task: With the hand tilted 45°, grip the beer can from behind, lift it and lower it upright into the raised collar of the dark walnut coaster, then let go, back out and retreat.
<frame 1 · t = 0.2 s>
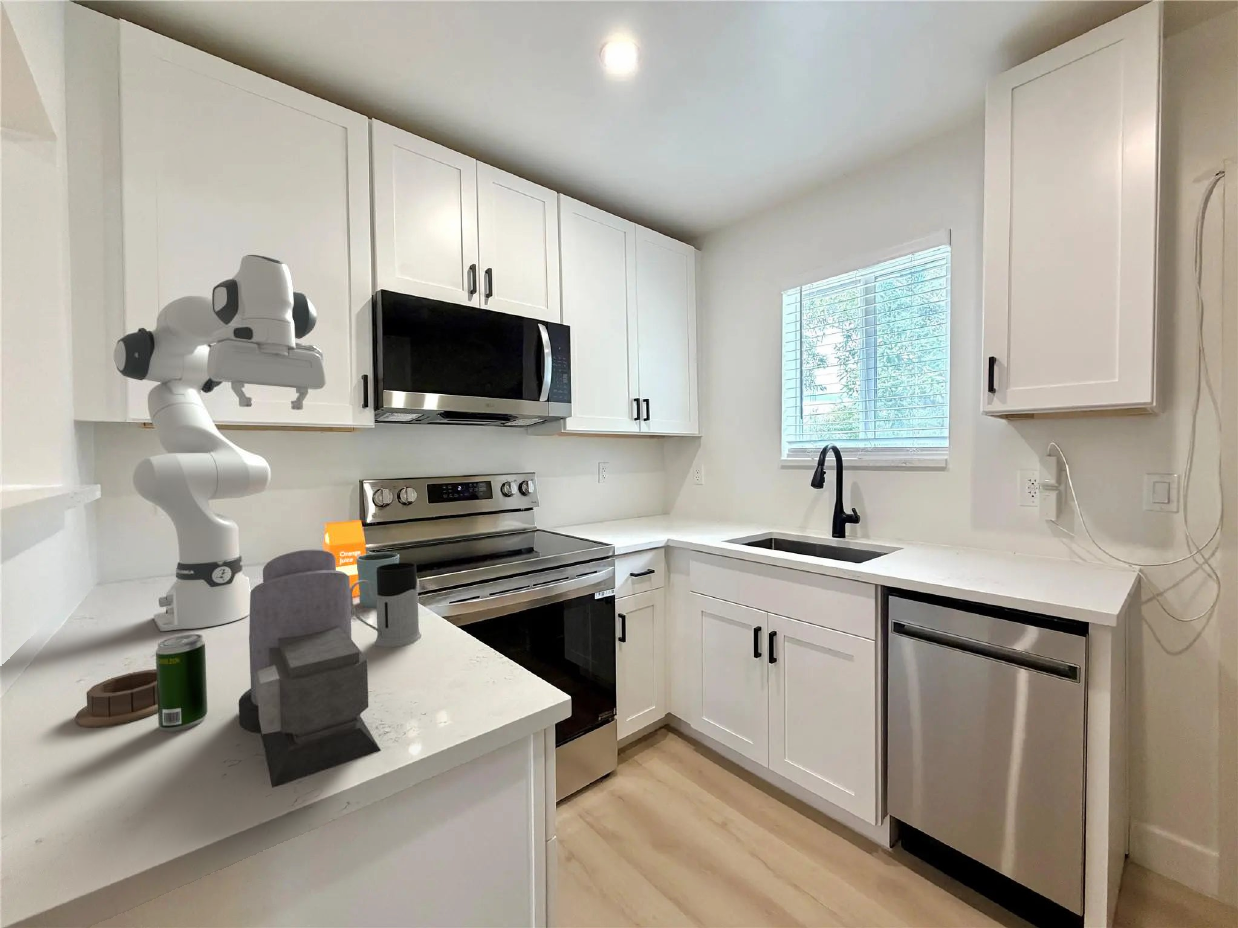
hand: (272, 408, 104), 48 cm above the countertop, tool pointing down, fingers open, 8 cm apart
collar coaster: (132, 706, 80), on the countertop
juicer: (310, 721, 75), on the countertop
orange juice: (345, 595, 142), on the countertop
beer can: (183, 724, 75), on the countertop
teal cup: (379, 602, 134), on the countertop
glass holder: (386, 643, 105), on the countertop
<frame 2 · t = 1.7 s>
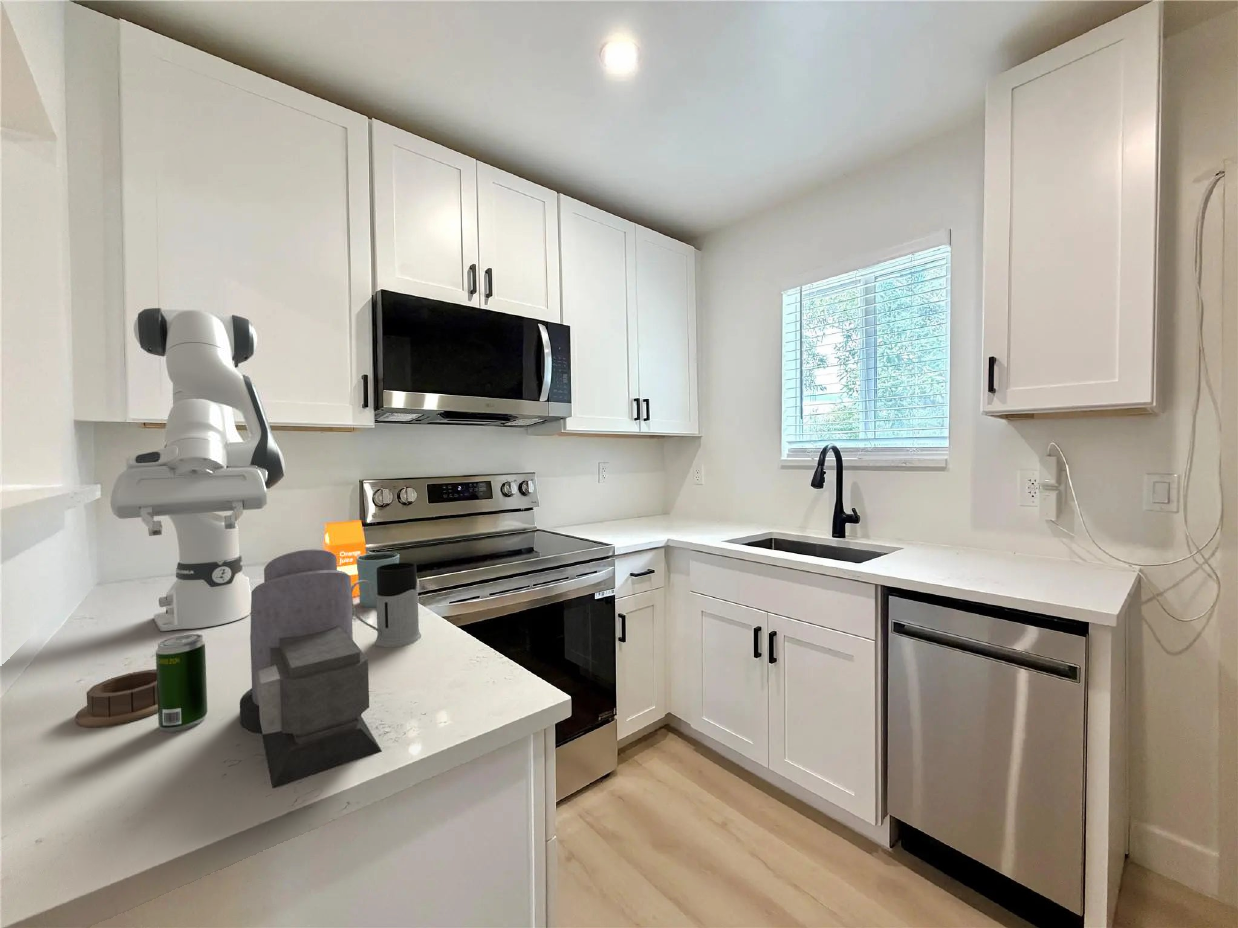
hand: (193, 530, 84), 26 cm above the countertop, tool tilted 45°, fingers open, 8 cm apart
nothing on the countertop moved.
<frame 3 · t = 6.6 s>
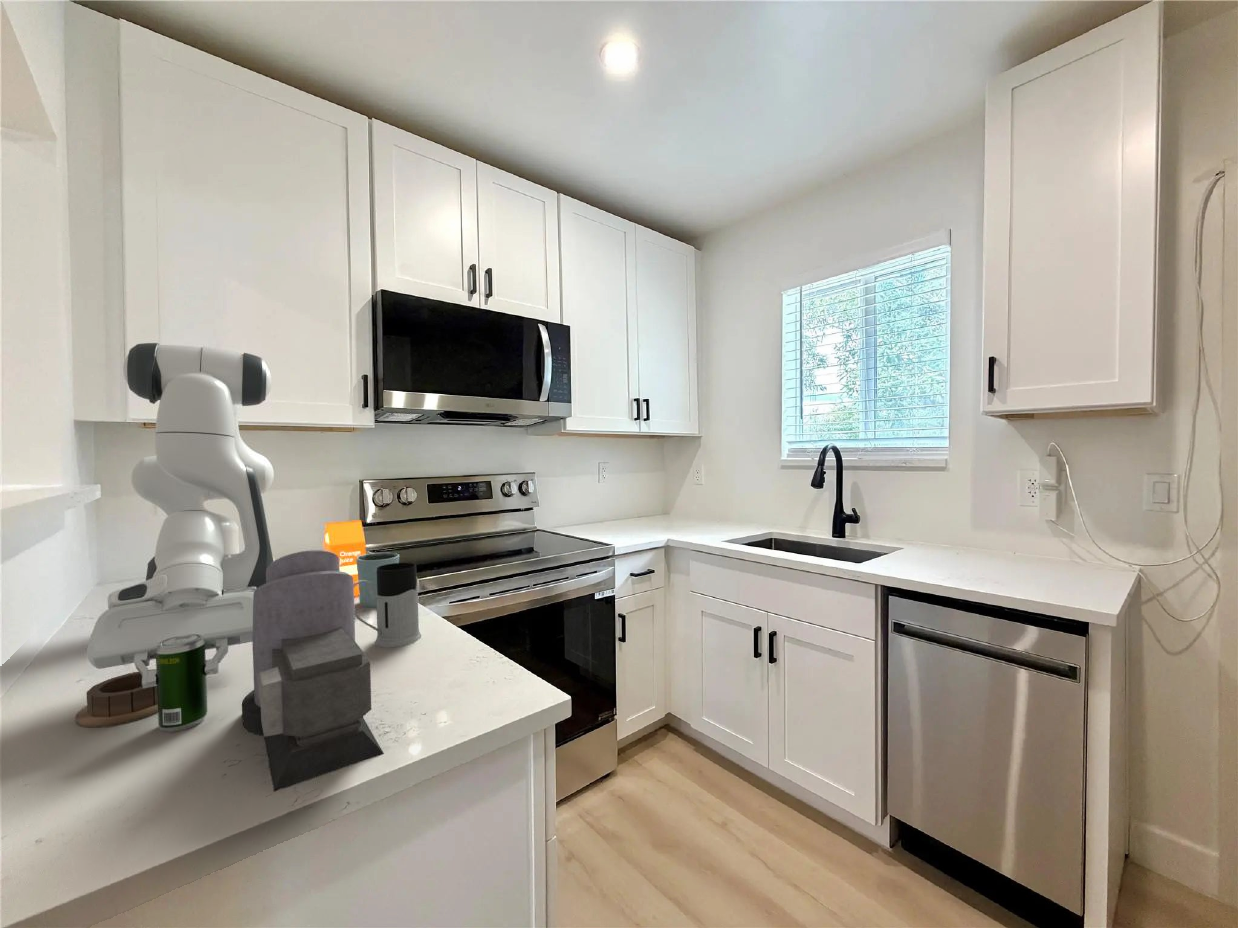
hand: (181, 679, 74), 7 cm above the countertop, tool tilted 45°, fingers closed on beer can, 5 cm apart
beer can: (183, 724, 75), on the countertop, touching gripper
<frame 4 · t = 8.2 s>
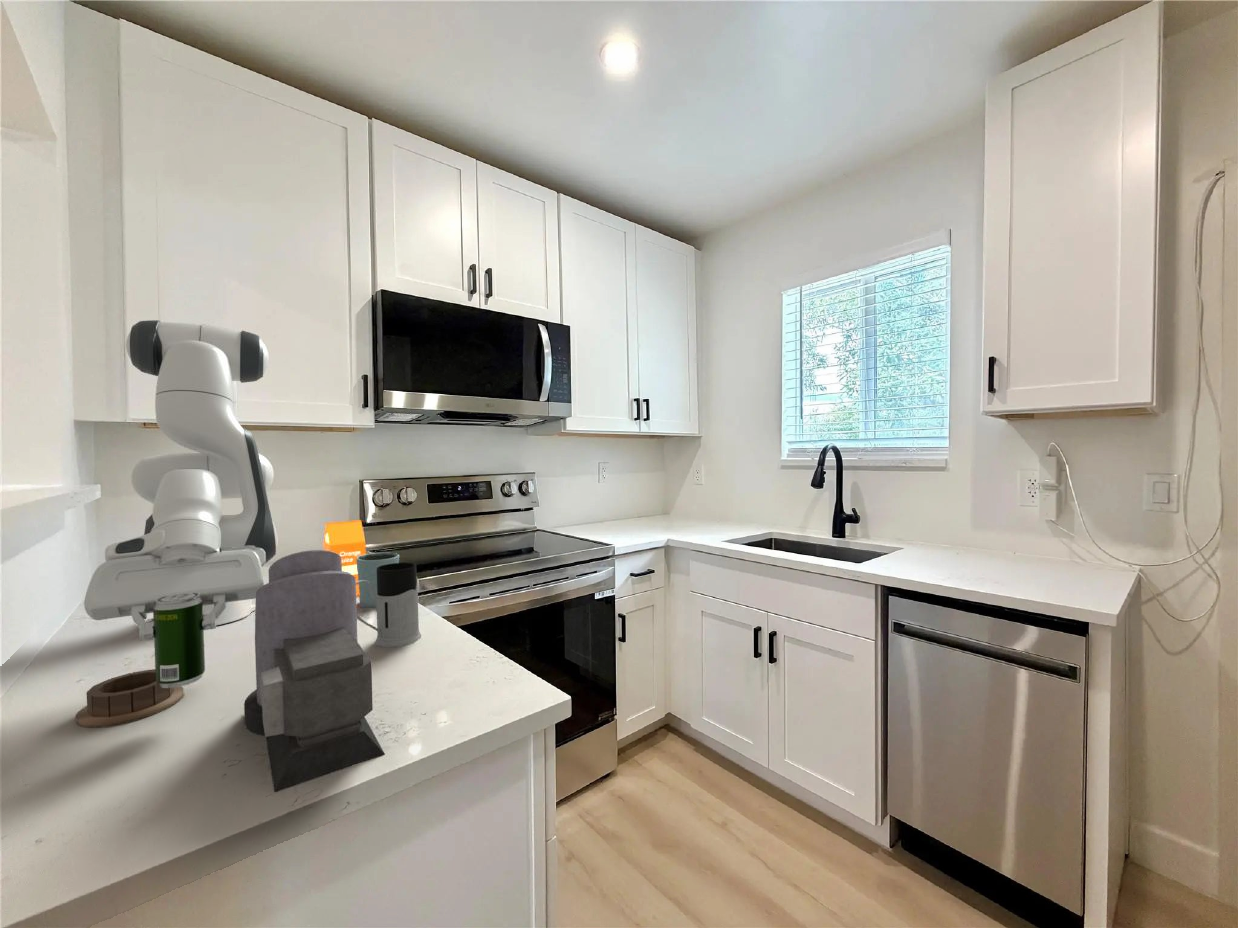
hand: (178, 632, 74), 13 cm above the countertop, tool tilted 45°, fingers closed on beer can, 5 cm apart
beer can: (181, 681, 74), point 6 cm above the countertop, touching gripper
when the fingers open (17 cm above the countertop, at t = 9.7 s): beer can drops 4 cm, resting on collar coaster.
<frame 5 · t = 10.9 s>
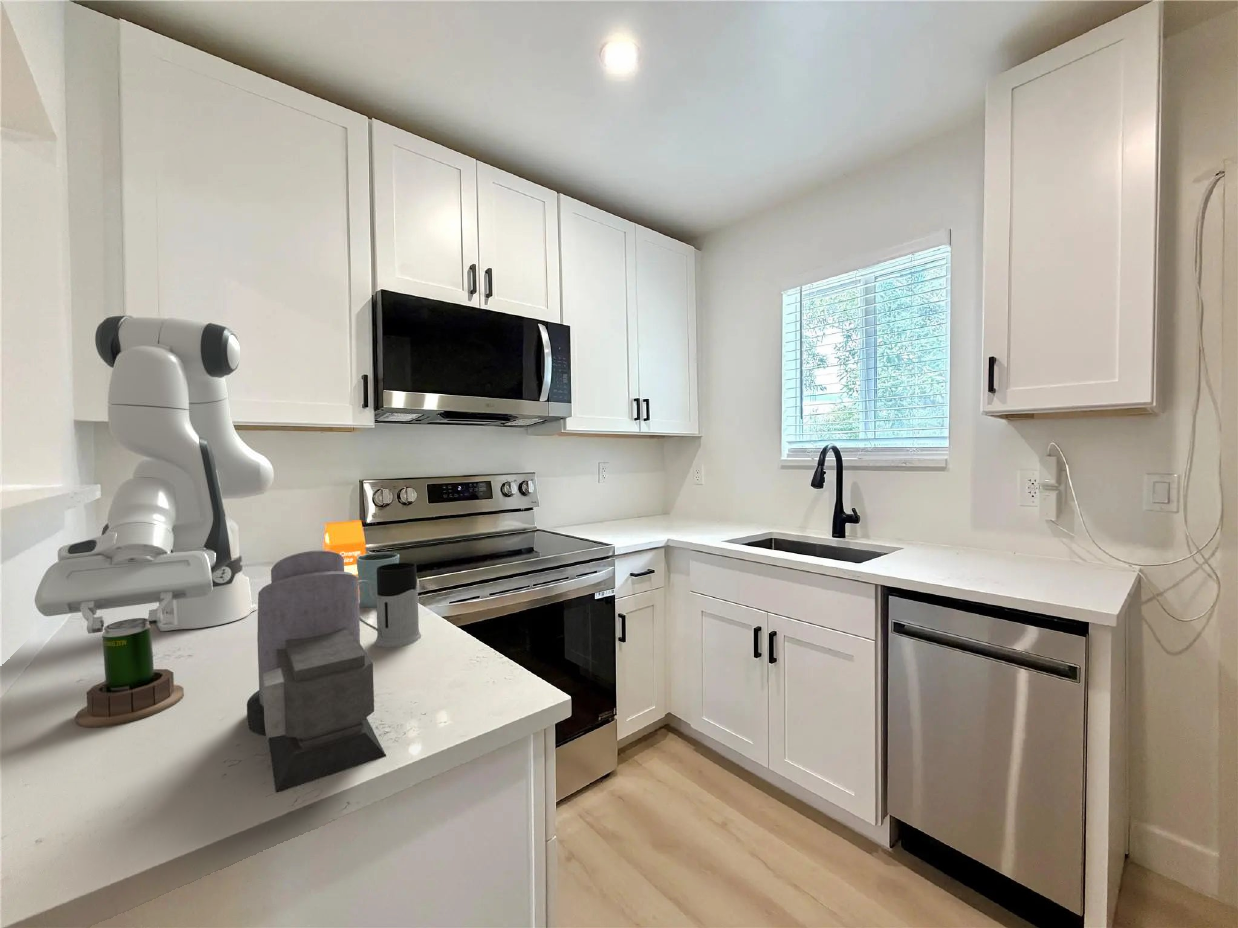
hand: (125, 626, 78), 13 cm above the countertop, tool tilted 45°, fingers open, 5 cm apart
beer can: (131, 701, 80), point 1 cm above the countertop, touching collar coaster, gripper
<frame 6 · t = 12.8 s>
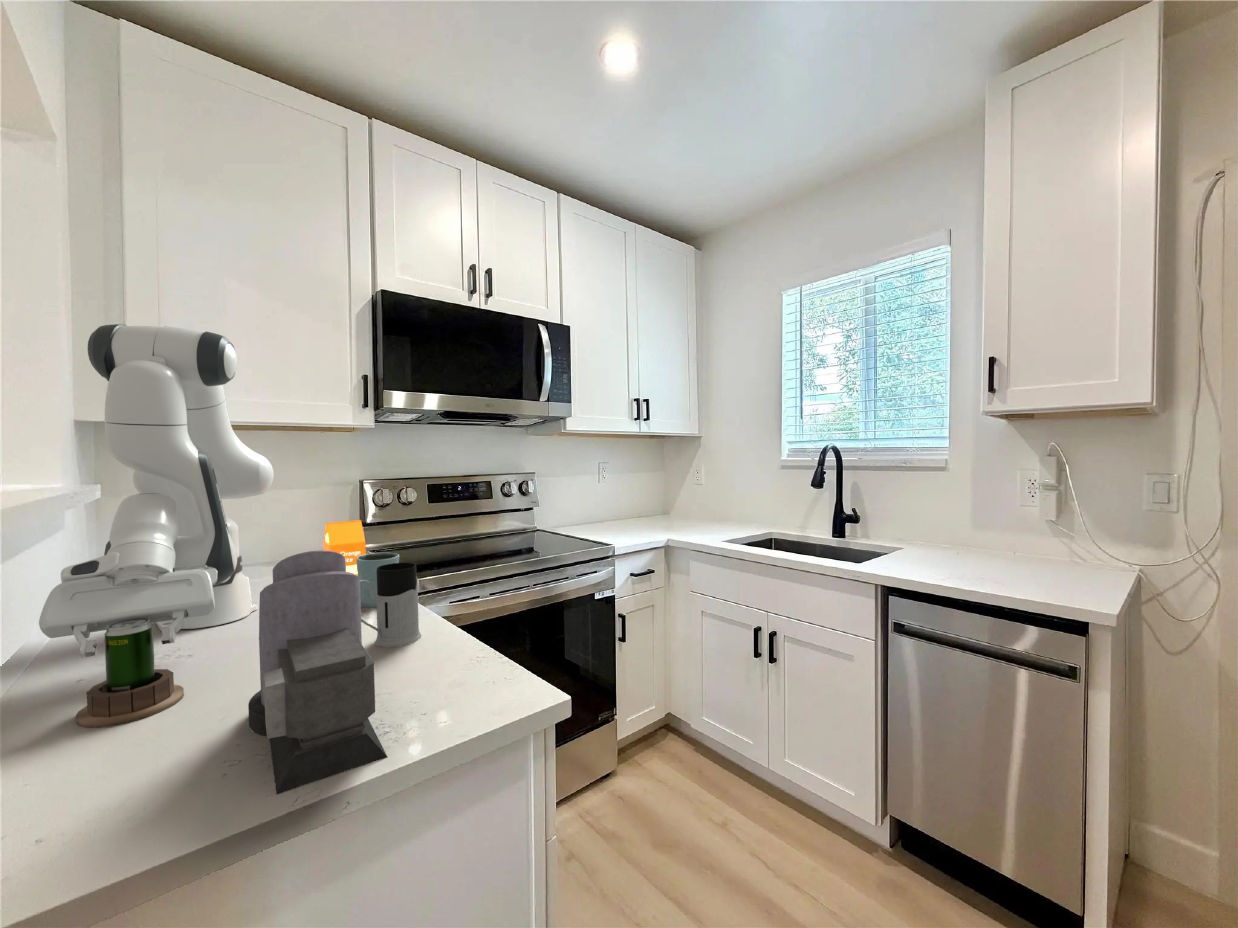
hand: (129, 648, 79), 9 cm above the countertop, tool tilted 45°, fingers open, 8 cm apart
beer can: (132, 702, 80), point 1 cm above the countertop, touching collar coaster
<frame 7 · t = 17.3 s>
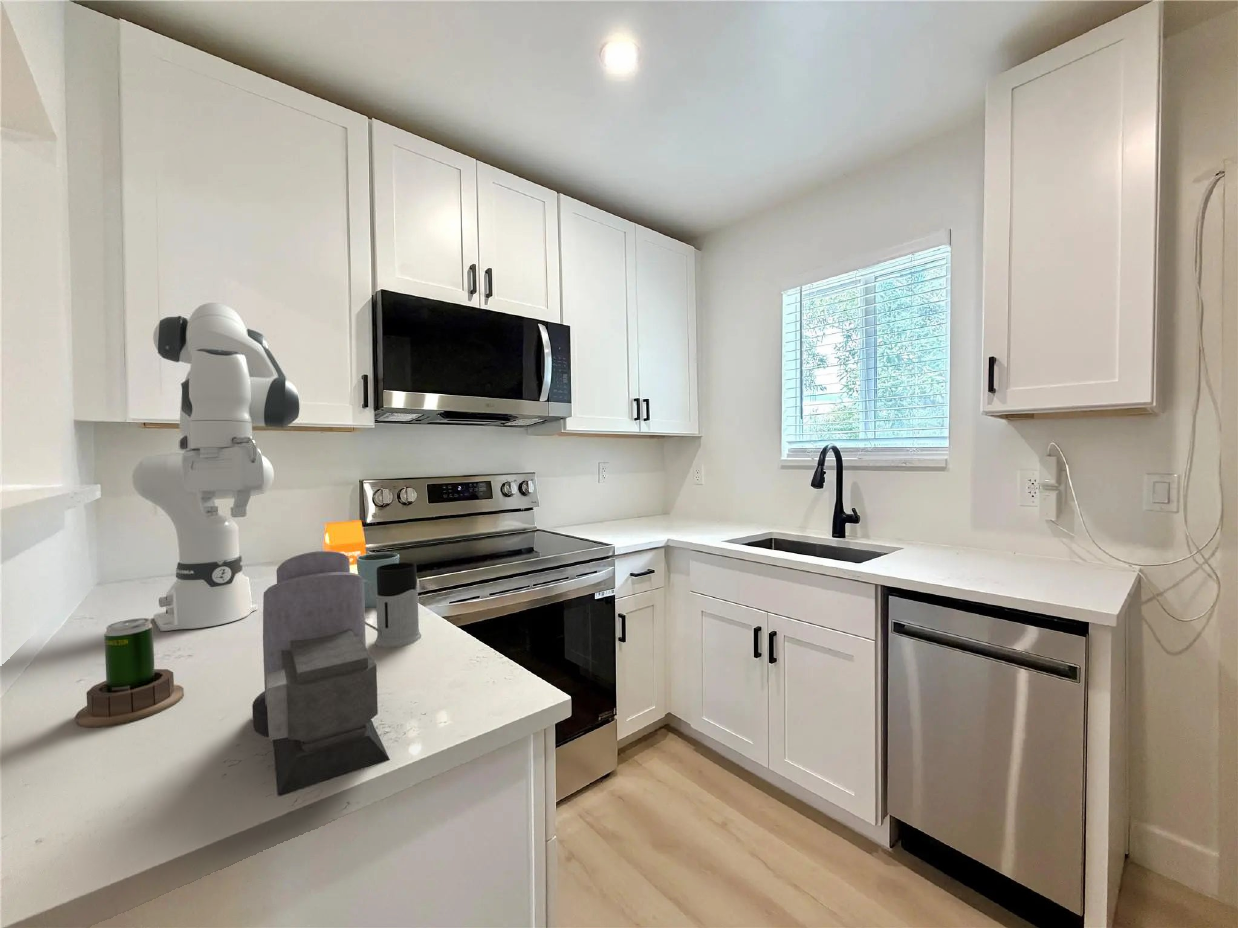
hand: (224, 516, 93), 27 cm above the countertop, tool pointing down, fingers open, 8 cm apart
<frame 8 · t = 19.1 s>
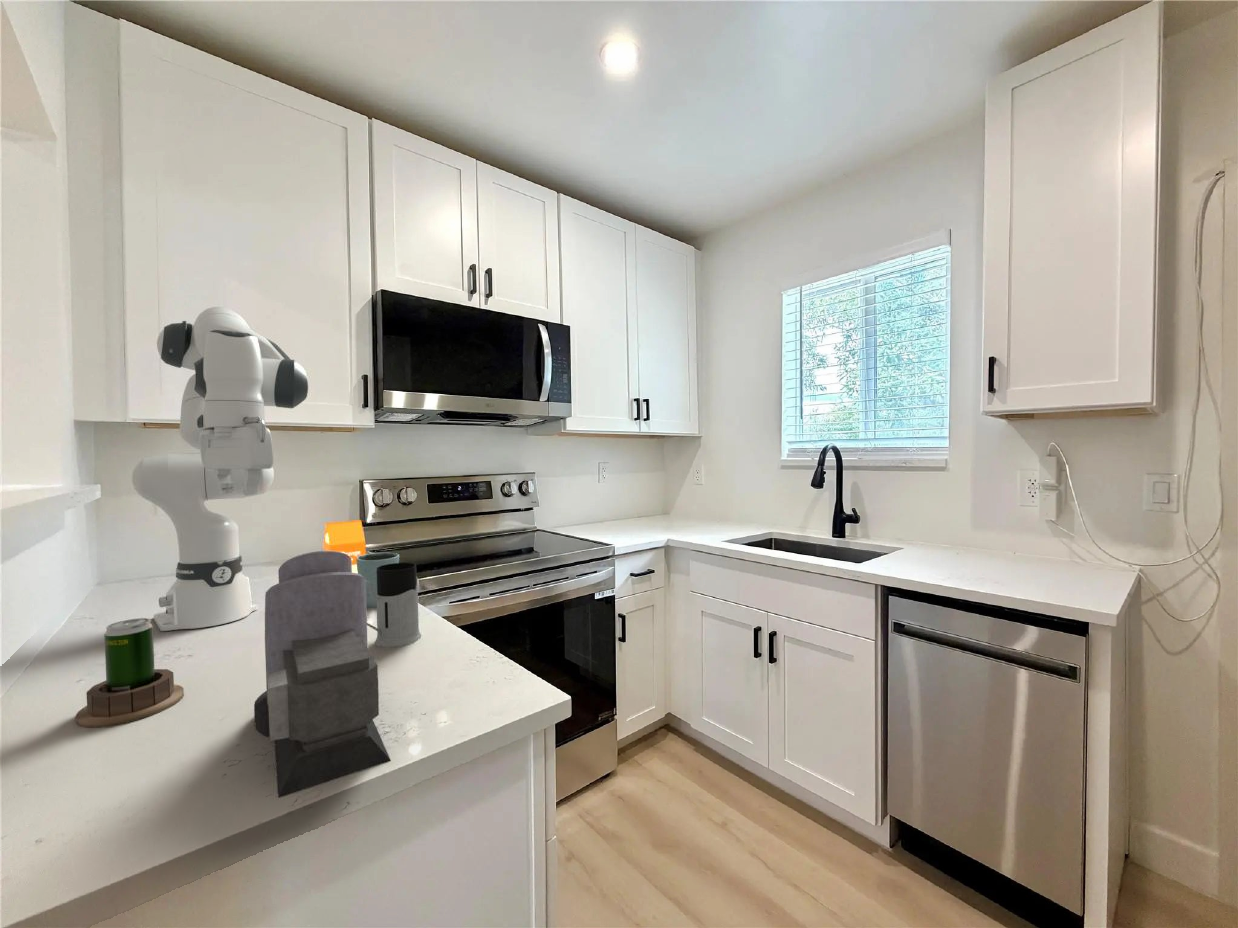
hand: (238, 493, 96), 31 cm above the countertop, tool pointing down, fingers open, 8 cm apart
at the end: beer can 0.3 cm off-centre on the collar coaster, point 0.6 cm above the collar coaster's base; beer can tilted 0°; the gripper is holding nothing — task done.
